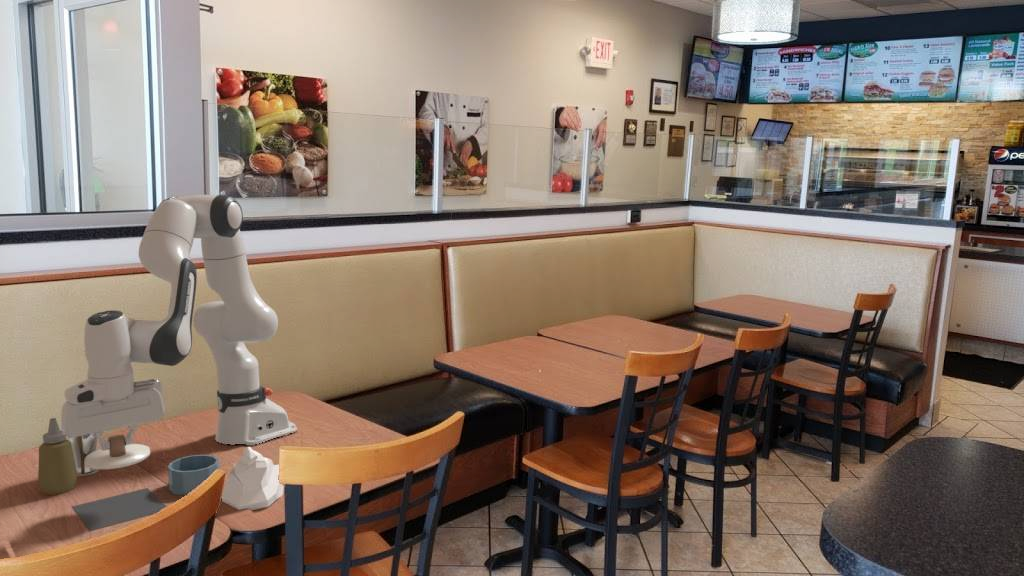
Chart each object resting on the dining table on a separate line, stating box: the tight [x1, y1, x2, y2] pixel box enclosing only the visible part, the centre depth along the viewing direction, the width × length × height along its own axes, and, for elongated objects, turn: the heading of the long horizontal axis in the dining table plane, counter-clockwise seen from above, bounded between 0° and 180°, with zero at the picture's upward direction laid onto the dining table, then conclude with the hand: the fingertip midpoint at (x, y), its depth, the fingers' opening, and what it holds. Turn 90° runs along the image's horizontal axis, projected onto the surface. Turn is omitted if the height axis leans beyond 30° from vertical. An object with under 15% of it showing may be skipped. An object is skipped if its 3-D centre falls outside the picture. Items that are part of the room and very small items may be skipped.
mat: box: [71, 487, 168, 532], centre depth 174 cm, size 16×16×1 cm
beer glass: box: [67, 433, 101, 477], centre depth 196 cm, size 7×7×15 cm
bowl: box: [167, 454, 221, 496], centre depth 186 cm, size 11×11×6 cm
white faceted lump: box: [221, 446, 285, 511], centre depth 178 cm, size 12×15×14 cm
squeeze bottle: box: [37, 417, 78, 496], centre depth 183 cm, size 8×8×18 cm
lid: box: [84, 434, 151, 470], centre depth 172 cm, size 13×13×5 cm
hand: (117, 446), depth 172 cm, fingers closed on lid, 3 cm apart
